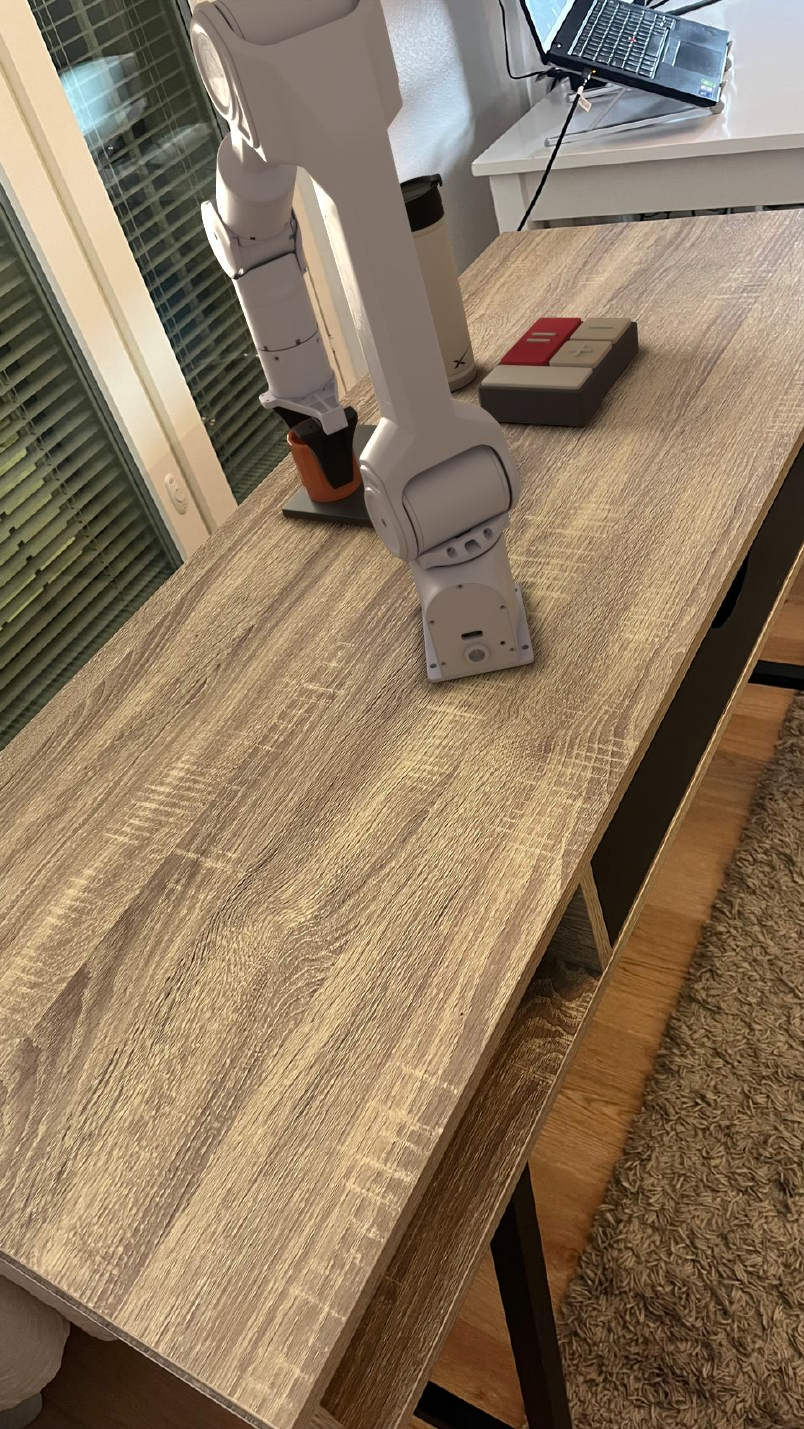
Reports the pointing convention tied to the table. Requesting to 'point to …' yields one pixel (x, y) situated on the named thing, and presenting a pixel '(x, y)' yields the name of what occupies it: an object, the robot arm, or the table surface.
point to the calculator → (559, 370)
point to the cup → (319, 473)
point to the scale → (340, 510)
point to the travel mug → (440, 276)
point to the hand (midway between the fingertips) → (330, 470)
